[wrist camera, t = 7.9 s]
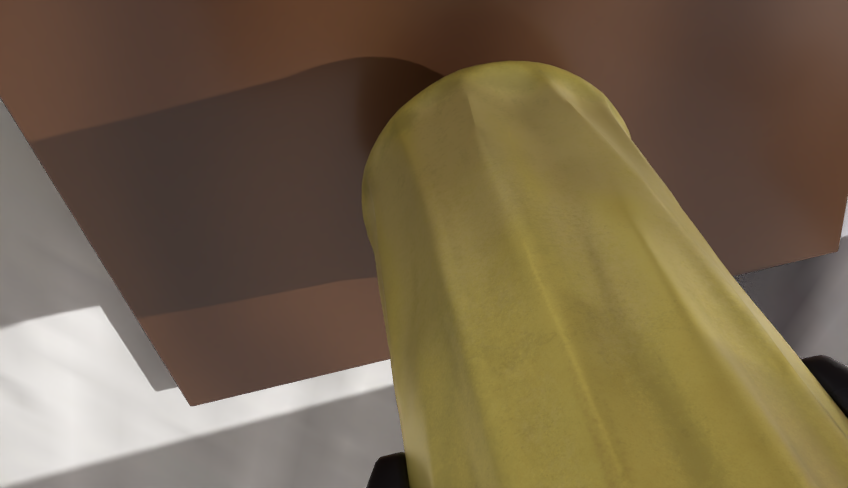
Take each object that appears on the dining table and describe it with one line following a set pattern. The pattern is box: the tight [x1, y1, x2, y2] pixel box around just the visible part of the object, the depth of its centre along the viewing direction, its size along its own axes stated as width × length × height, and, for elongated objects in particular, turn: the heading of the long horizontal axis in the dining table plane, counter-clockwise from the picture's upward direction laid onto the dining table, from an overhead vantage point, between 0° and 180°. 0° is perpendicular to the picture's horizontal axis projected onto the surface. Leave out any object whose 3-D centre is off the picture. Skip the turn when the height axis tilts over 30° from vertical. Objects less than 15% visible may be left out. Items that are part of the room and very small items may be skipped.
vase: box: [362, 61, 848, 488], centre depth 9 cm, size 6×6×14 cm
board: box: [0, 0, 848, 406], centre depth 17 cm, size 20×13×1 cm, turn 102°
